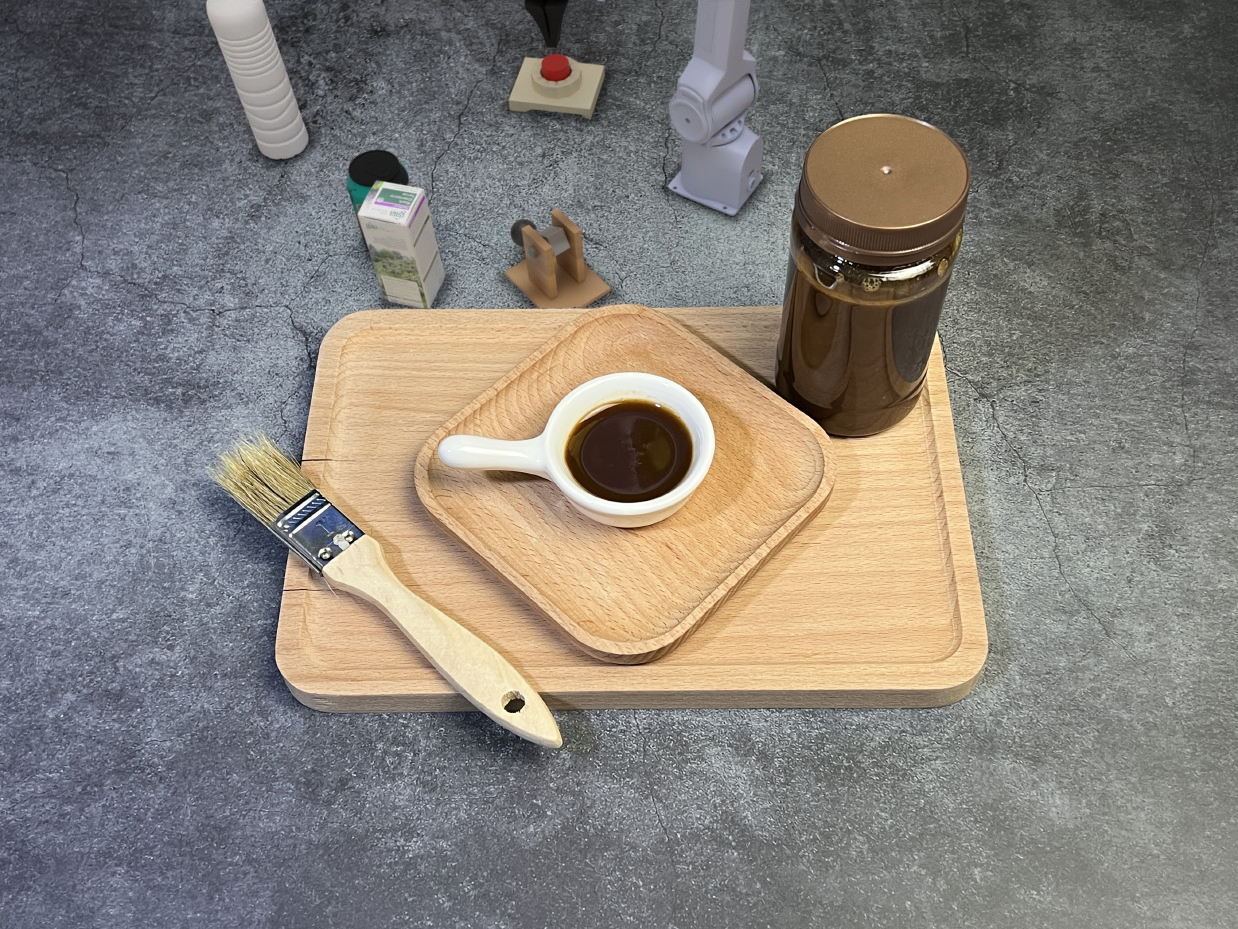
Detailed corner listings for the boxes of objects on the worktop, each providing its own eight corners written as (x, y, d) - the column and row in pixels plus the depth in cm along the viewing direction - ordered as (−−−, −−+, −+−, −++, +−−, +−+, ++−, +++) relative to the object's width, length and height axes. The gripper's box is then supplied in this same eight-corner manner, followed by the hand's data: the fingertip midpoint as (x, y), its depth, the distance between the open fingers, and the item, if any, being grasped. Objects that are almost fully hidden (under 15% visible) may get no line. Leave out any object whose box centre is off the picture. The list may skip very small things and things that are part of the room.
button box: (604, 75, 149) (603, 53, 146) (590, 119, 145) (589, 97, 142) (526, 67, 151) (523, 45, 148) (509, 110, 146) (506, 88, 143)
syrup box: (447, 277, 130) (425, 184, 118) (429, 314, 127) (405, 223, 115) (402, 269, 131) (376, 175, 119) (384, 305, 128) (355, 213, 116)
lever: (511, 249, 130) (501, 225, 128) (533, 237, 131) (523, 212, 129) (552, 262, 122) (541, 236, 120) (575, 248, 123) (565, 222, 121)
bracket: (505, 278, 130) (495, 220, 122) (559, 246, 132) (553, 188, 124) (556, 328, 125) (549, 272, 117) (611, 294, 128) (608, 237, 120)
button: (572, 66, 146) (571, 55, 144) (566, 83, 144) (565, 72, 142) (546, 63, 146) (544, 52, 145) (539, 80, 144) (538, 69, 143)
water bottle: (296, 164, 141) (233, -13, 120) (250, 156, 143) (180, -21, 122) (324, 120, 146) (268, -58, 125) (279, 112, 147) (216, -65, 126)
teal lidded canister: (389, 214, 136) (368, 137, 126) (435, 234, 134) (417, 158, 124) (354, 251, 133) (329, 175, 123) (400, 272, 131) (379, 196, 121)
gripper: (611, -72, 131) (614, 29, 142) (493, -82, 133) (506, 17, 144) (598, -37, 127) (603, 63, 139) (478, -48, 129) (492, 51, 140)
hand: (553, 42), depth 141 cm, fingers closed
